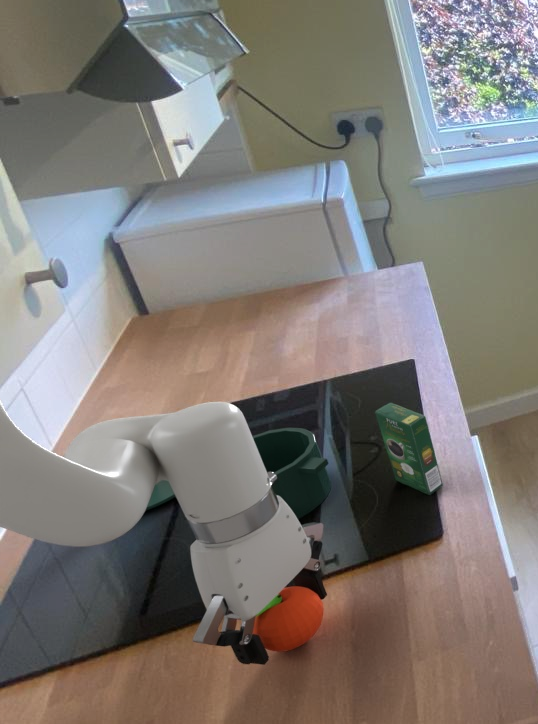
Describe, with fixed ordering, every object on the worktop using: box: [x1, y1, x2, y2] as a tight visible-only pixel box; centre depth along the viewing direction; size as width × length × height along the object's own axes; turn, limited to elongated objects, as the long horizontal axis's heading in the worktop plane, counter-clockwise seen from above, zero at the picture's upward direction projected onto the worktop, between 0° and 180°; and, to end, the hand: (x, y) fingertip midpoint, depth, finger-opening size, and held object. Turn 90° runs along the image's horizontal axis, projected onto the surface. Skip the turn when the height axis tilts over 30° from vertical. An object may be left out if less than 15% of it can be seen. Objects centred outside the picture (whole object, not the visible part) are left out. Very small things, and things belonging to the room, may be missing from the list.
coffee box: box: [374, 402, 444, 496], centre depth 109 cm, size 8×3×13 cm, turn 63°
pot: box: [252, 427, 332, 520], centre depth 108 cm, size 13×19×8 cm
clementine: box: [253, 585, 325, 652], centre depth 85 cm, size 8×7×7 cm
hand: (286, 627), depth 86 cm, fingers open, 8 cm apart
